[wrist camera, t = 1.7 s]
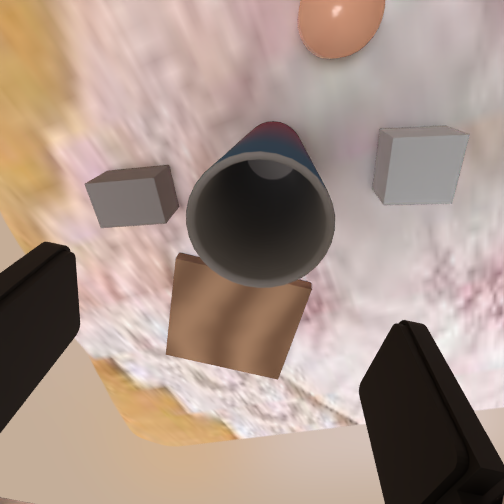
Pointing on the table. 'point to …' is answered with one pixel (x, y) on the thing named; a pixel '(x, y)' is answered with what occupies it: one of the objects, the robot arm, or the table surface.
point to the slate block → (418, 164)
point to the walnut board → (232, 319)
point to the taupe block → (133, 196)
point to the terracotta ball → (338, 25)
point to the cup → (262, 211)
